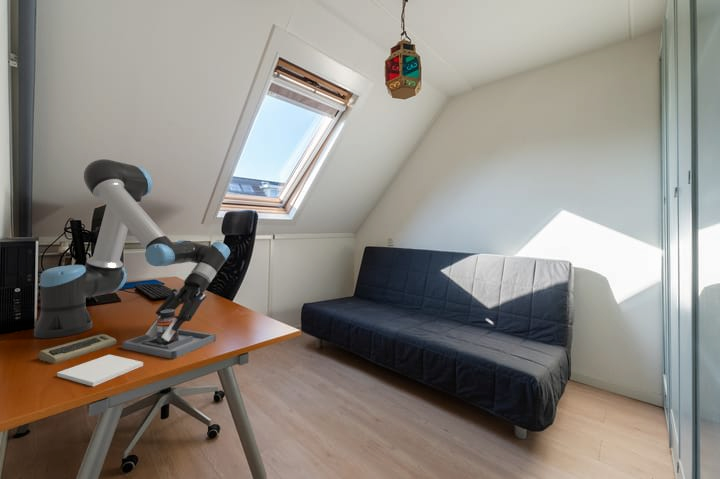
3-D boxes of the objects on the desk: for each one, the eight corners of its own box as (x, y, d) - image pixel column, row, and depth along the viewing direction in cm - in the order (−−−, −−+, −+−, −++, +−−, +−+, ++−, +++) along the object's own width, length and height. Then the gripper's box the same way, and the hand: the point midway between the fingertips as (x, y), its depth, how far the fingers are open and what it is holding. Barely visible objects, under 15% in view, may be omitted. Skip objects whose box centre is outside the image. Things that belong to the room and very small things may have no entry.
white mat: (57, 376, 78) (57, 372, 78) (109, 357, 89) (109, 354, 89) (93, 386, 73) (93, 382, 73) (143, 365, 84) (143, 362, 84)
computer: (54, 365, 84) (54, 353, 84) (38, 360, 87) (38, 349, 87) (117, 345, 99) (117, 335, 99) (101, 342, 102) (101, 332, 102)
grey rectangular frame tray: (121, 348, 96) (121, 342, 96) (168, 332, 111) (168, 326, 111) (173, 359, 89) (173, 352, 89) (216, 340, 104) (216, 334, 104)
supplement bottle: (174, 340, 103) (174, 307, 103) (181, 344, 100) (181, 310, 99) (153, 345, 99) (153, 310, 98) (160, 350, 95) (160, 314, 94)
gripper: (226, 286, 110) (187, 347, 95) (186, 282, 116) (144, 339, 101) (215, 273, 105) (171, 336, 90) (174, 270, 111) (127, 328, 96)
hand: (157, 337), depth 96 cm, fingers closed on supplement bottle, 6 cm apart
